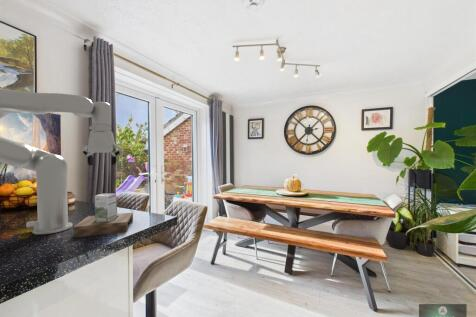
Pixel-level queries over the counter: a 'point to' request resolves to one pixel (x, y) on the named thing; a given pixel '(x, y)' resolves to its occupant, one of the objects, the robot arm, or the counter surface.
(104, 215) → the syrup box
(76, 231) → the walnut stand
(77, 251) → the counter surface
